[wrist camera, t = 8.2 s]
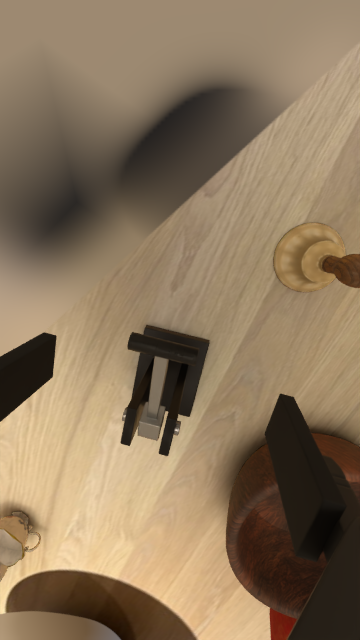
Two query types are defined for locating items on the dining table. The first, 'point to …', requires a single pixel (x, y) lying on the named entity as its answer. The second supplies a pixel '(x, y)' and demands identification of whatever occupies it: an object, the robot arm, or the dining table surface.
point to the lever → (158, 377)
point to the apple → (280, 625)
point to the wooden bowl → (276, 530)
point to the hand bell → (314, 259)
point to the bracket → (165, 387)
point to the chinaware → (14, 540)
